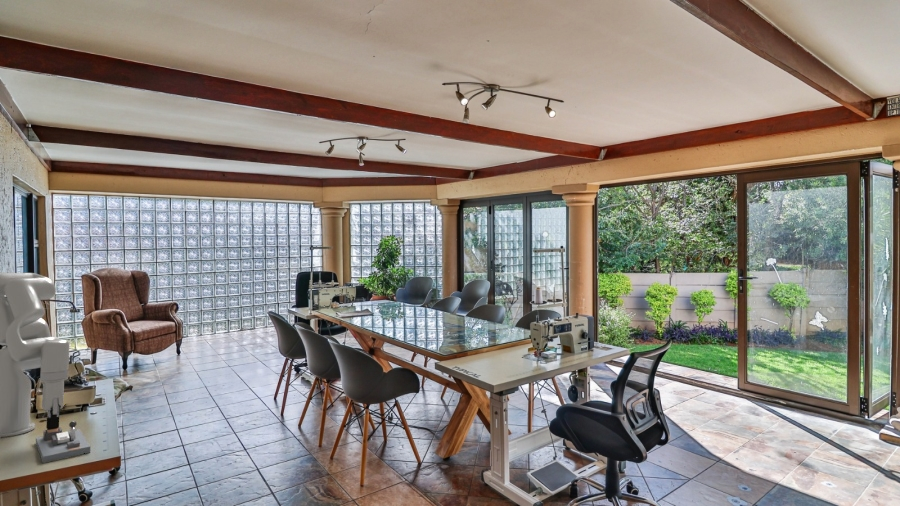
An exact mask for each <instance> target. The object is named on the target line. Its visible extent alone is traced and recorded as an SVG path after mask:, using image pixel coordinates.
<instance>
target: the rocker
mask: <svg viewBox="0 0 900 506" xmlns="http://www.w3.org/2000/svg"><path fill="white" fill-rule="evenodd" d="M68 431H69V430H68ZM68 431H62V433H57V434H56V438H57V442H58V443H63V442H68V441H69V439H70V438H69V434H68Z"/></svg>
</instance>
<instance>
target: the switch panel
mask: <svg viewBox="0 0 900 506" xmlns="http://www.w3.org/2000/svg"><path fill="white" fill-rule="evenodd" d="M62 432H63V429H62V427H60V426H59V428H58V431H55V432H50V433H47V429H44V430H43V432H42V433H43V436H38V437H37V436H36V437H35V445H36V449H37V450H38V453H39V456H40V459H41V462H42V463H43V464H45V463H50V462H54V461H58V460H62V459H67V458H71V456H72V457H75V456H80V454H81V455H85V454H89V452H90V453H91V445H90V443H89V441H88V440H87V438H86V437H85V435H84V433H83V432H82V431H81V429H80V428H78V429H75V433H76V439H74V440H71V430H68V434H69V438H70V439H69V441H68V442H63V443H58V442H57V438H56V434H57V433H62ZM84 453H85V454H84Z"/></svg>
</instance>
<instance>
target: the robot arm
mask: <svg viewBox="0 0 900 506" xmlns="http://www.w3.org/2000/svg"><path fill="white" fill-rule="evenodd" d="M56 288H57V287H56V285H55V283H54V281H53V280H52V279H50V278H49V277H47V276H44V275H41V274H38V273H34V272H0V345H1V346H5V347H4V348H1V349H0V438H6V437H15V436H18V435H22V434H25V433H28V432H31V431H32V430H34V429H35V428H36V423H34V422H31V400H32V399H31V398H32V381H31V378H30V377H29V376H28V375H27V374H25V373H24V372H25V371H28V370H33V369H34V370H35V369H40V375H39V376H40V379H39V382H40V383H42V384H43V385H42V396H41V397H42V398H41V407H42V410H43V412H45V413H46V412H47V417H46V430H50V429H56V428H59V427H60V410H61V409H63V408H64V407H63V397H64V393H65V392H64V391H65V381H66V380H68V379H69V369H70V368H69V367H70V366H69V365H70V342H69V340H67V339H61V338H60V337H57V336H52V334H51V330H50V326H49V325H48V323H47V321H46V320H45V319H43V317H44V316H45V315H46V310H45V308H44V305H43V303H42V301H44V300H50V299H52V298H54V297H55V295H56ZM41 300H42V301H41ZM59 408H60V409H59Z"/></svg>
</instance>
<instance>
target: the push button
mask: <svg viewBox="0 0 900 506" xmlns="http://www.w3.org/2000/svg"><path fill="white" fill-rule="evenodd" d="M46 430H47V429H46ZM55 431H58V428H56V429H50V430H47V433H50V432H55Z"/></svg>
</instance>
